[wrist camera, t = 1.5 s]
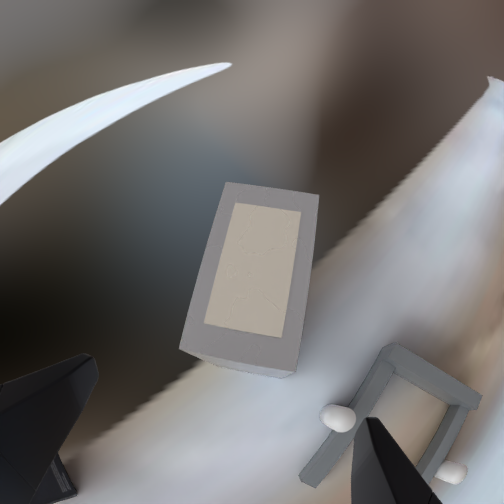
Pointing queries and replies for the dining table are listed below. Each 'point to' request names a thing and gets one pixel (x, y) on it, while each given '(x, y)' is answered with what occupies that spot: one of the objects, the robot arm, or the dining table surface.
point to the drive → (254, 281)
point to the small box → (54, 485)
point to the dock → (367, 396)
